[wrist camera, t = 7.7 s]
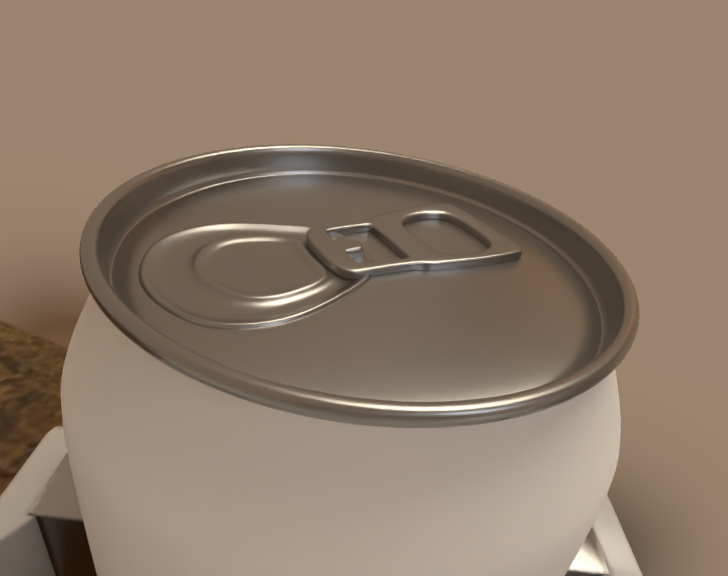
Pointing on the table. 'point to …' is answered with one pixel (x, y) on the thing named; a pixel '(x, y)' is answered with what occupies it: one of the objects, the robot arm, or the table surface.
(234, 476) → the can
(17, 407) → the table surface
